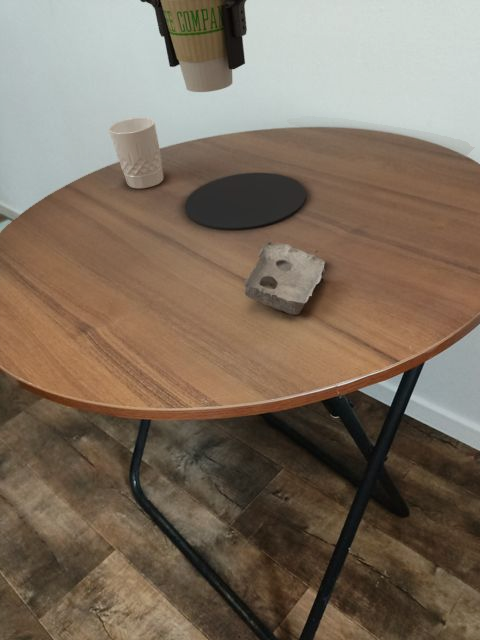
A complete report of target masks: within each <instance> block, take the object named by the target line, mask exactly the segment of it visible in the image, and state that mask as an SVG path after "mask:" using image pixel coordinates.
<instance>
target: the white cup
mask: <svg viewBox="0 0 480 640" xmlns="http://www.w3.org/2000/svg"><path fill="white" fill-rule="evenodd" d="M108 131H109V135H110V138H111V141H112V145H113V147H114V150H115V153H116V156H117V159H118V162H119V165H120V167H121V171H122V172H123V175H124V178H125V183H126V184H127V186H129V188H132V189H136V190H137V189H139V190H140V189H147V188H153V187H155V186H156V185H159V184H160V183H162V182H163V181H164V178H165V177H164V170H163V165H162V162H163V161H162V156H161V155H162V154H161V149H160V144H159V138H158V133H157V126H156V121H155V119H154V118H151V117H132V118H131V117H130V118H126V119H122V120H119V121H117V122H115V123H113V124H111V125H110V126H109V127H108Z"/></svg>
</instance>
